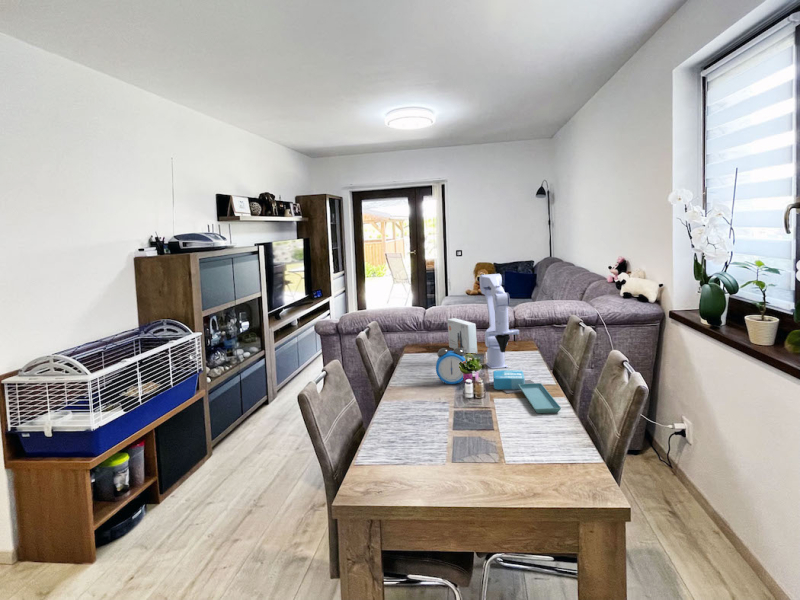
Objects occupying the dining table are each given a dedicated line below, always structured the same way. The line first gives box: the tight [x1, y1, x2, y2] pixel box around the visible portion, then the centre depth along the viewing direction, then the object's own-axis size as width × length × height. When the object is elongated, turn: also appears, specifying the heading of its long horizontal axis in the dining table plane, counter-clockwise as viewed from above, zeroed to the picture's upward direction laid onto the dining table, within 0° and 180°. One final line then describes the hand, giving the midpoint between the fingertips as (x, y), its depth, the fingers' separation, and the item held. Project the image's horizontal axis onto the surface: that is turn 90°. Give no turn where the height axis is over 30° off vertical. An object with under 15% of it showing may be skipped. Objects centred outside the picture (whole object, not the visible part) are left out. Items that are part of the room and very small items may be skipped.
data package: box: [492, 369, 526, 390], centre depth 211 cm, size 12×4×12 cm
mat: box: [501, 379, 535, 395], centre depth 209 cm, size 13×15×1 cm
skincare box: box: [446, 317, 478, 354], centre depth 275 cm, size 21×5×16 cm, turn 25°
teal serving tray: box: [518, 382, 562, 414], centre depth 191 cm, size 26×9×2 cm, turn 0°
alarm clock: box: [435, 347, 466, 385], centre depth 219 cm, size 13×6×15 cm, turn 85°
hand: (502, 351), depth 225 cm, fingers closed
